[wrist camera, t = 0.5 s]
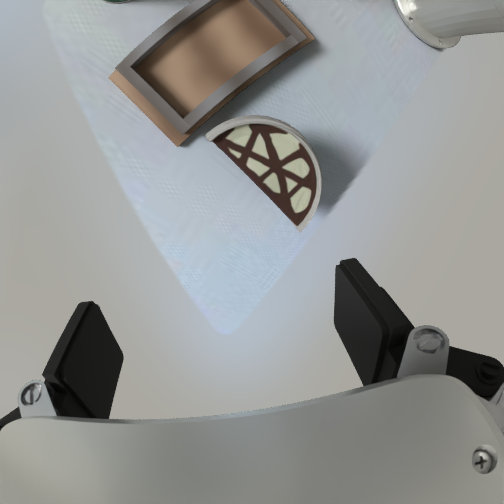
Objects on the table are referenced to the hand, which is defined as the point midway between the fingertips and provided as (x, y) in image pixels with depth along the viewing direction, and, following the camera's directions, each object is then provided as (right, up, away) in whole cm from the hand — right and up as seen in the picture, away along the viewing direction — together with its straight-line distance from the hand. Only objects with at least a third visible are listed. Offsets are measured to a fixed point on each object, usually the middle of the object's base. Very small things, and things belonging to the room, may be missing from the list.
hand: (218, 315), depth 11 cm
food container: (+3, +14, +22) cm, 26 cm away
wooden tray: (-3, +24, +15) cm, 29 cm away
